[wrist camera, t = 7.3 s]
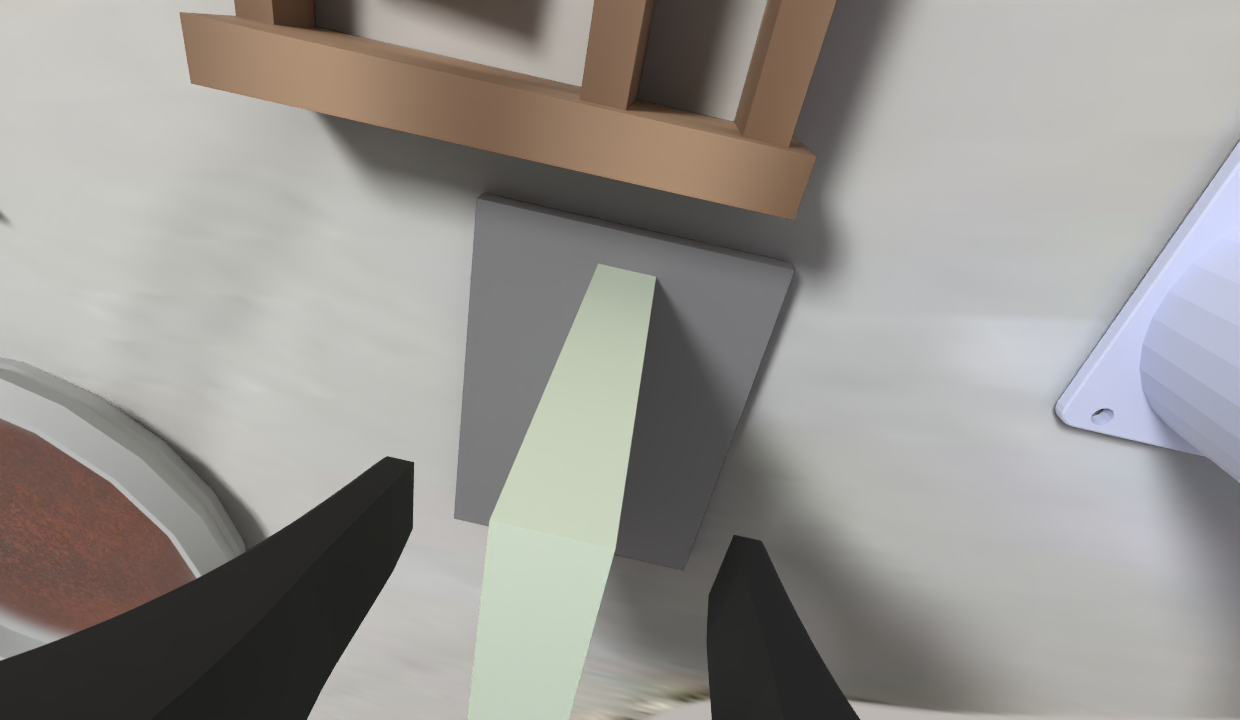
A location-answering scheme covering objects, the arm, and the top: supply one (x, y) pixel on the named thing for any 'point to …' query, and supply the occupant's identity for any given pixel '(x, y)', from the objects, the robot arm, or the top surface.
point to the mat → (672, 368)
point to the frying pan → (91, 512)
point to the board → (562, 511)
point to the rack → (539, 97)
